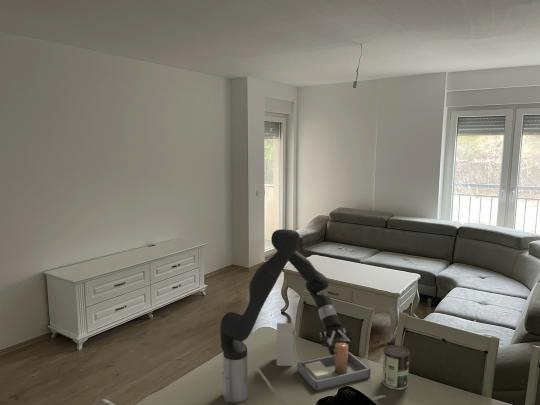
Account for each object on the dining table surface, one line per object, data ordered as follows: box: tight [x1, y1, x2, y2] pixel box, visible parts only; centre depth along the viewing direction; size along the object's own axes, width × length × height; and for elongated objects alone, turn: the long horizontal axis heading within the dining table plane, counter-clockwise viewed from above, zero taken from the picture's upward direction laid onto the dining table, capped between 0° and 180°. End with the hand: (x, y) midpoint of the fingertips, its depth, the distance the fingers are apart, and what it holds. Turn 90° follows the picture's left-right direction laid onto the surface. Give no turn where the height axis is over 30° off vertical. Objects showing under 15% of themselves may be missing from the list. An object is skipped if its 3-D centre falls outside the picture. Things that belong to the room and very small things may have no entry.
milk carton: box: [276, 322, 294, 367], centre depth 184 cm, size 7×7×19 cm
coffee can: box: [382, 344, 411, 390], centre depth 170 cm, size 10×10×14 cm
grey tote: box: [297, 351, 371, 392], centre depth 175 cm, size 26×16×4 cm, turn 113°
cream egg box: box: [305, 361, 332, 381], centre depth 172 cm, size 7×10×4 cm
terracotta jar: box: [334, 341, 349, 375], centre depth 176 cm, size 6×6×12 cm
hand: (342, 353), depth 175 cm, fingers open, 8 cm apart
